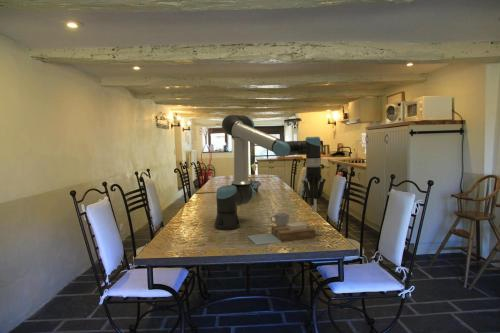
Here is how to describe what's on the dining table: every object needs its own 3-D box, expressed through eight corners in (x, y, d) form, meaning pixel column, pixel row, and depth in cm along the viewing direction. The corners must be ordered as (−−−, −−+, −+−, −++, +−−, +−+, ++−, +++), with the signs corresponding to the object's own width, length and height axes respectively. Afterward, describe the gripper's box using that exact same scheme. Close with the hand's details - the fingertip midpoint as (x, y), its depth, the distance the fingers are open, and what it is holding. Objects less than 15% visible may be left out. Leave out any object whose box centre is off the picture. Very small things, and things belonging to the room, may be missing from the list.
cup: (269, 228, 183) (269, 214, 182) (271, 224, 191) (270, 211, 190) (289, 229, 181) (289, 215, 180) (289, 225, 189) (289, 211, 188)
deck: (272, 233, 173) (271, 226, 172) (302, 230, 178) (302, 223, 178) (282, 241, 159) (282, 233, 159) (315, 237, 165) (315, 230, 164)
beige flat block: (286, 227, 170) (286, 223, 170) (301, 225, 173) (301, 221, 173) (290, 230, 165) (290, 226, 165) (306, 228, 167) (306, 224, 167)
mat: (247, 236, 169) (247, 235, 169) (270, 233, 173) (270, 233, 173) (256, 245, 155) (256, 244, 155) (281, 242, 159) (281, 241, 159)
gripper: (305, 167, 164) (306, 213, 165) (328, 166, 167) (329, 211, 169) (299, 166, 171) (299, 210, 173) (321, 165, 174) (321, 208, 176)
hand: (314, 210), depth 171 cm, fingers closed
